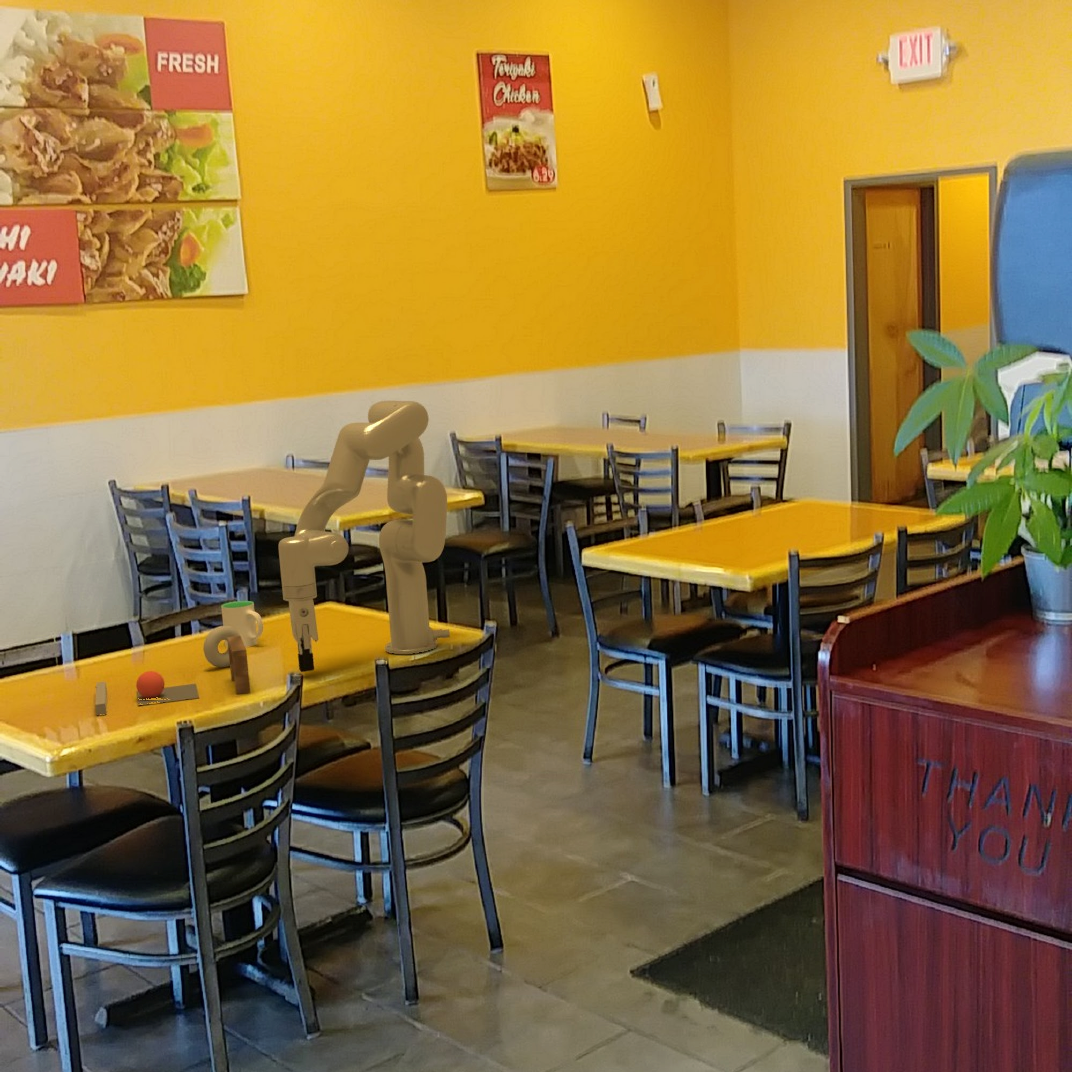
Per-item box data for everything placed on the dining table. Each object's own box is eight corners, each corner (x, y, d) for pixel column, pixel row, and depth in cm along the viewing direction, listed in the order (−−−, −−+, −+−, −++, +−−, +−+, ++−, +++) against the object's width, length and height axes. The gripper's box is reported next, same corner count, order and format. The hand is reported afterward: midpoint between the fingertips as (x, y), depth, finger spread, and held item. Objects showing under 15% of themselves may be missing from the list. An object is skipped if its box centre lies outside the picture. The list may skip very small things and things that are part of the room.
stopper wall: (107, 692, 319) (105, 681, 318) (106, 714, 300) (105, 703, 300) (97, 693, 318) (96, 682, 318) (96, 716, 299) (95, 704, 299)
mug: (275, 643, 358) (271, 602, 356) (253, 650, 351) (249, 609, 349) (241, 639, 364) (237, 600, 362) (218, 646, 357) (214, 606, 356)
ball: (160, 696, 315) (166, 670, 315) (161, 703, 309) (167, 677, 309) (133, 692, 313) (139, 666, 313) (133, 698, 307) (139, 672, 307)
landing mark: (195, 684, 321) (195, 683, 321) (199, 698, 308) (199, 697, 308) (136, 692, 317) (136, 691, 317) (137, 706, 305) (137, 705, 305)
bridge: (244, 676, 325) (240, 635, 323) (250, 692, 310) (246, 649, 309) (231, 678, 324) (227, 637, 322) (236, 694, 310) (232, 651, 308)
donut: (210, 672, 331) (205, 631, 330) (202, 670, 334) (198, 629, 332) (247, 663, 338) (243, 622, 336) (239, 661, 340) (235, 621, 339)
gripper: (320, 595, 312) (328, 675, 315) (311, 584, 326) (318, 661, 329) (286, 599, 310) (294, 680, 313) (279, 587, 324) (286, 665, 327)
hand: (306, 670), depth 321 cm, fingers closed
